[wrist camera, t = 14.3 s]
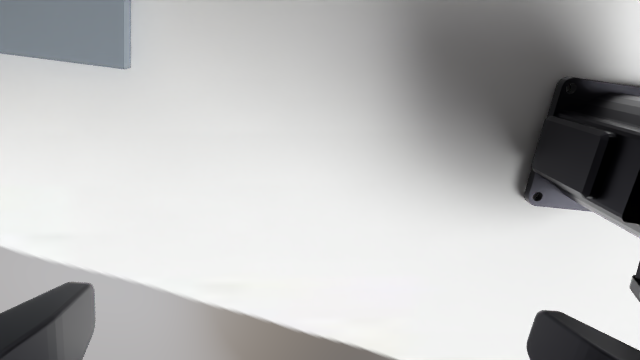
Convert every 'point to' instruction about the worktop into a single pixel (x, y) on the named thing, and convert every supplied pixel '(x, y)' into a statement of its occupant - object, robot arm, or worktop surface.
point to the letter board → (68, 30)
